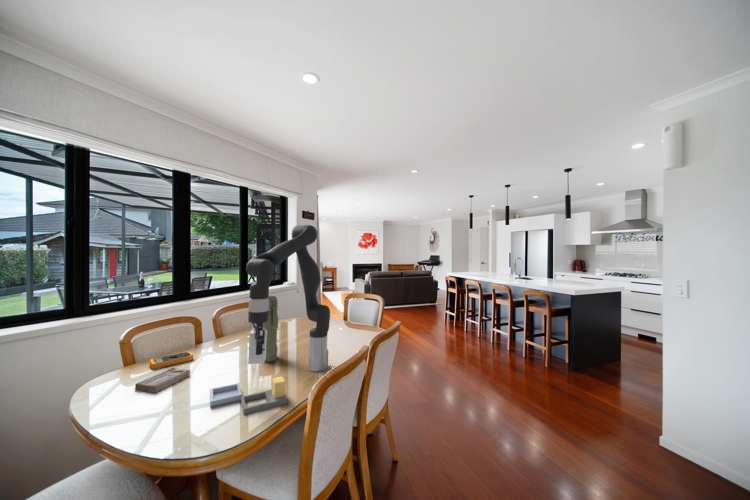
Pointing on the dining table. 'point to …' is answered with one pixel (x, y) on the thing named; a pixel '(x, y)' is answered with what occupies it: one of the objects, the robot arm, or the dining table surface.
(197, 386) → the dining table surface
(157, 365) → the multimeter
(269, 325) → the thermos
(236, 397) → the tray
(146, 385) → the box
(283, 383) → the block
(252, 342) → the skincare box
